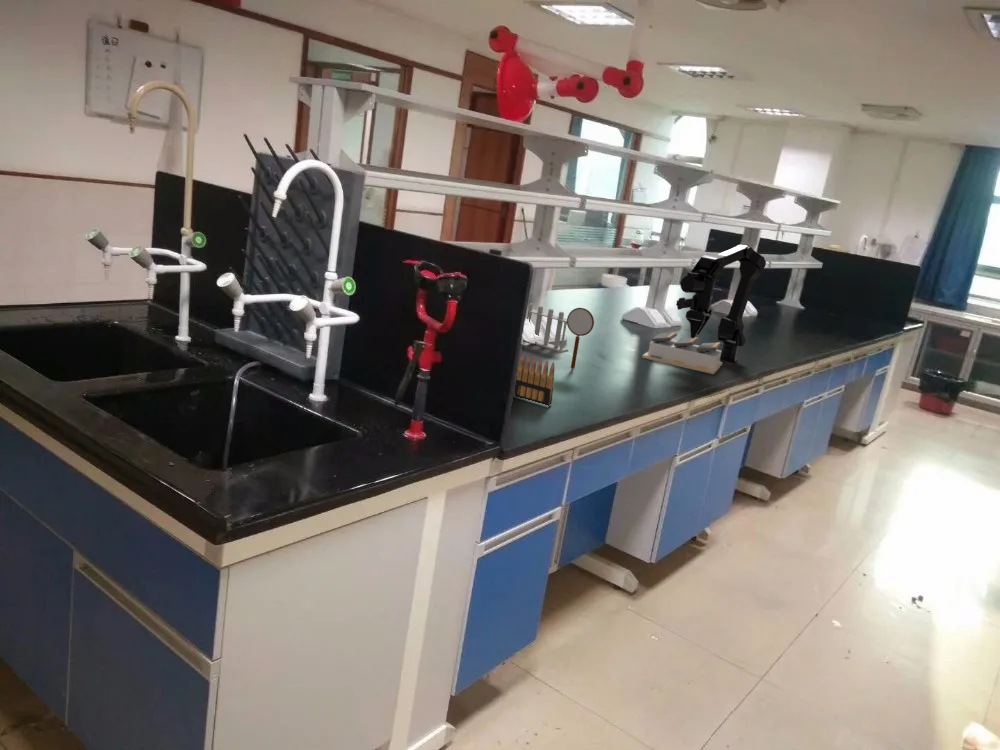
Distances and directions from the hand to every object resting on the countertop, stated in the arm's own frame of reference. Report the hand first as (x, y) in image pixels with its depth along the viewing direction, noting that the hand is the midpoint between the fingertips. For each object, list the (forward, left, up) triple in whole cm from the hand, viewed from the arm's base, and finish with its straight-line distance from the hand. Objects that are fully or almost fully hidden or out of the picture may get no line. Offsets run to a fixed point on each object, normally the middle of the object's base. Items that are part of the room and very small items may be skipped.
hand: (694, 336), depth 263 cm
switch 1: (0, -10, -3) cm, 11 cm away
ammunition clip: (+90, -24, -10) cm, 94 cm away
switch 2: (0, +6, -3) cm, 7 cm away
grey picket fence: (+25, -50, -10) cm, 57 cm away
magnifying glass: (+50, -27, -10) cm, 58 cm away
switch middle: (0, -2, -3) cm, 4 cm away
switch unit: (+1, -2, -10) cm, 10 cm away
